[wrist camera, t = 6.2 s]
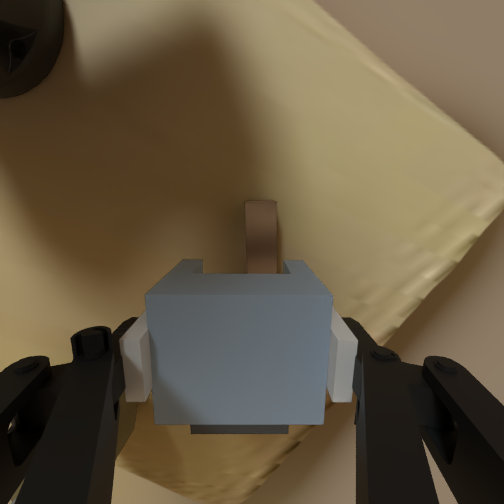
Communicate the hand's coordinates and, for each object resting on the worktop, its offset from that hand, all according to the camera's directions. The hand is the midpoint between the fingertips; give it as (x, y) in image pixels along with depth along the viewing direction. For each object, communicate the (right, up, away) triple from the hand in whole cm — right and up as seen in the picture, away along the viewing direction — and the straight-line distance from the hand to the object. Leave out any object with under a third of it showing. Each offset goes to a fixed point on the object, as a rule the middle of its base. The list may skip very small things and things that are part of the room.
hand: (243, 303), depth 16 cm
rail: (+2, -2, +15) cm, 15 cm away
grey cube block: (0, 0, 0) cm, 0 cm away
